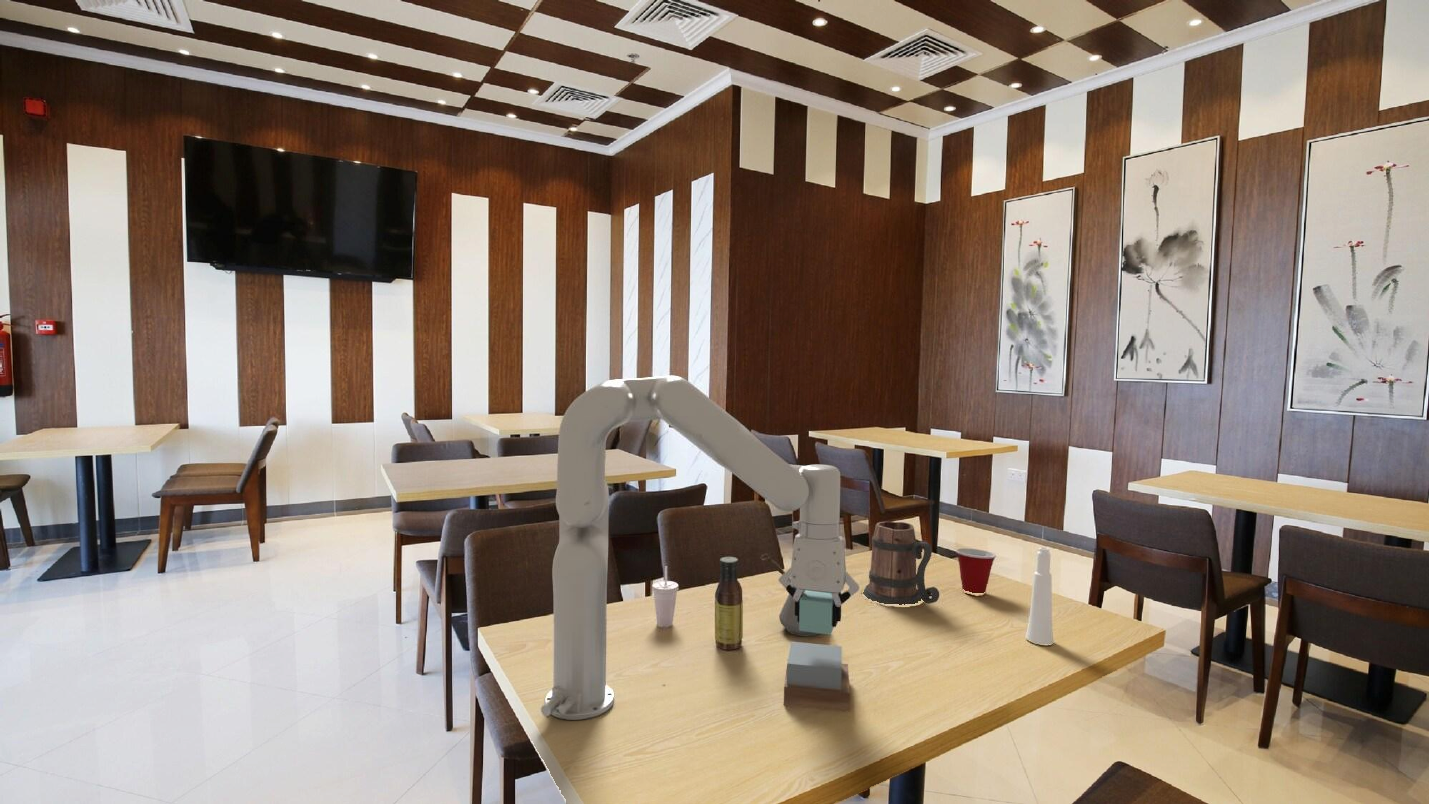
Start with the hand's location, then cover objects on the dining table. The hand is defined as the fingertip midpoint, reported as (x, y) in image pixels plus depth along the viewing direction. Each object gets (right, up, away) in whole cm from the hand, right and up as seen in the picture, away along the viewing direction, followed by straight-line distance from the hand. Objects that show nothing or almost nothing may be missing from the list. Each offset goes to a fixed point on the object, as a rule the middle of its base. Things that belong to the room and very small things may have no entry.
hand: (817, 621), depth 128 cm
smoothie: (-32, -12, +33) cm, 47 cm away
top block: (-1, -10, 0) cm, 10 cm away
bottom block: (0, -14, +1) cm, 15 cm away
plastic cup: (+53, -12, +60) cm, 81 cm away
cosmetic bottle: (+56, -14, +27) cm, 64 cm away
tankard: (+31, -12, +52) cm, 62 cm away
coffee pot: (-2, -12, +35) cm, 37 cm away
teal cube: (0, -1, 0) cm, 1 cm away
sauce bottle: (-17, -13, +21) cm, 30 cm away
